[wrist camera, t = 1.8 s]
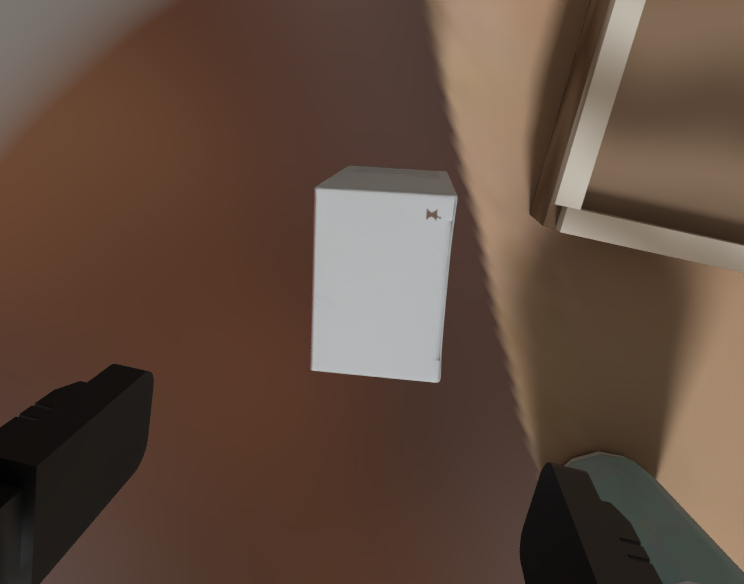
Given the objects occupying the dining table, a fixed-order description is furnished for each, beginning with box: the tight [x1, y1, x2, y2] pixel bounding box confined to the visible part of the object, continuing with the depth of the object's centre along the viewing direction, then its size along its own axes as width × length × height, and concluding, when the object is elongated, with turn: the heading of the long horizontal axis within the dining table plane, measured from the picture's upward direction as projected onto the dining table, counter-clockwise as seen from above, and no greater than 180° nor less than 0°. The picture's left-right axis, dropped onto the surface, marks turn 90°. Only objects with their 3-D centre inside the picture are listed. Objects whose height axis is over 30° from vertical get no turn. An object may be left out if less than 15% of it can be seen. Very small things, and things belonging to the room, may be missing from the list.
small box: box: [310, 165, 458, 382], centre depth 28 cm, size 8×6×10 cm
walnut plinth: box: [530, 0, 744, 273], centre depth 28 cm, size 14×14×5 cm
